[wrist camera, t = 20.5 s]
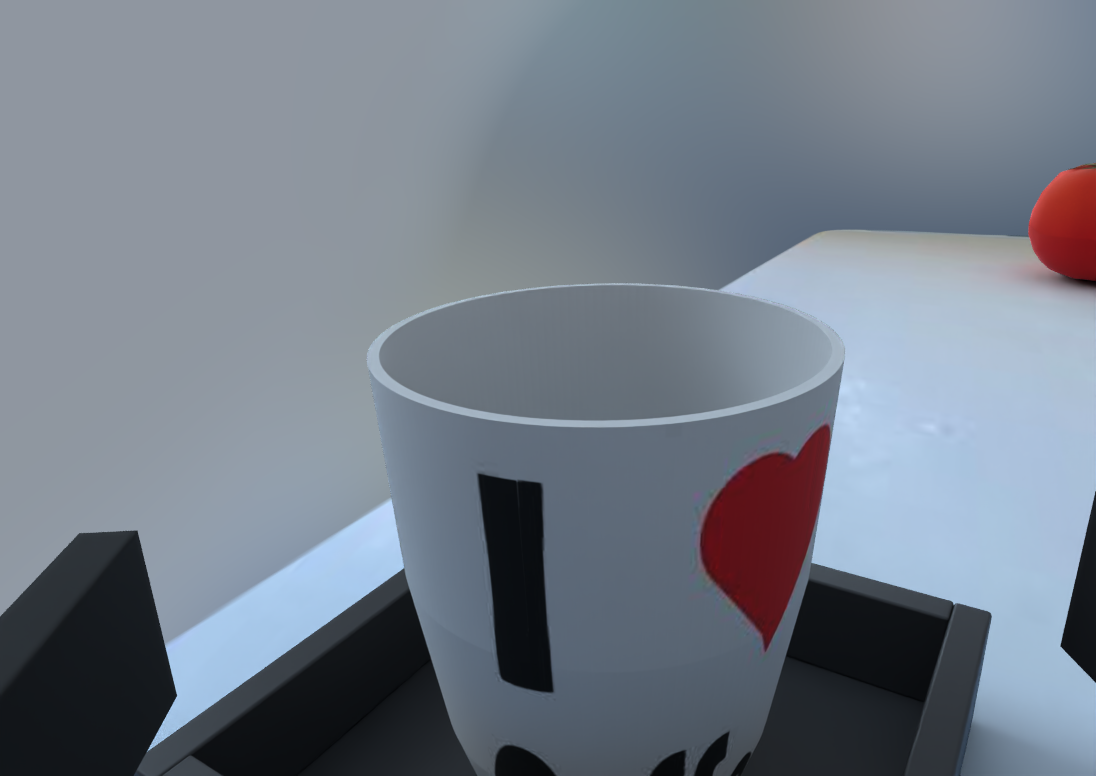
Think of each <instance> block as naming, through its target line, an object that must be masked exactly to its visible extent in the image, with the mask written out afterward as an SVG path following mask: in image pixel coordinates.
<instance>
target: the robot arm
mask: <svg viewBox="0 0 1096 776" xmlns="http://www.w3.org/2000/svg"><path fill="white" fill-rule="evenodd" d="M1061 647H1062V648H1063V649H1064V650H1065V652H1066V653H1067V654H1068V655H1069V656H1070V657H1071V658H1072V659H1073V660H1074V661H1075V662H1076V663H1077V664H1078V665H1079V666H1080V667H1081V668H1082V669H1083V670H1084V671H1085V672H1086V673H1087V674H1088V675H1089V676H1090V677H1091V678H1092V679H1093V680H1094V681H1095V682H1096V492H1095V496H1094V501H1093V505H1092V510H1091V514H1090V518H1089V523H1088V527H1087V532H1086V536H1085V540H1084V545H1083V549H1082V553H1081V558H1080V562H1079V567H1078V571H1077V575H1076V580H1075V584H1074V589H1073V593H1072V597H1071V602H1070V606H1069V611H1068V615H1067V619H1066V624H1065V628H1064V633H1063V637H1062V641H1061ZM176 697H177V694H176V690H175V685H174V681H173V677H172V673H171V669H170V665H169V660H168V656H167V652H166V648H165V644H164V640H163V636H162V631H161V627H160V623H159V619H158V615H157V610H156V606H155V602H154V598H153V594H152V590H151V586H150V582H149V577H148V573H147V569H146V565H145V561H144V556H143V553H142V548H141V544H140V540H139V536H138V531H120V532H99V533H79V534H78V535H77V536H76V538H74V540H73V541H72V542H71V543H70V544H69V545H68V546H67V547H66V548H65V549H64V550H63V551H62V552H61V553H60V554H59V555H58V557H56V559H55V560H54V561H53V562H52V563H51V564H50V565H49V566H48V567H47V568H46V569H45V570H44V571H43V572H42V573H41V575H39V576H38V578H37V579H36V580H35V581H34V582H33V583H32V584H31V585H30V586H29V587H28V588H27V589H26V590H25V591H24V592H23V593H22V594H21V595H20V597H19V598H18V599H17V600H16V601H15V602H14V603H13V604H12V605H11V606H10V607H9V608H8V609H7V610H6V611H5V612H4V613H3V614H2V615H1V616H0V776H134V774H135V773H136V771H137V769H138V767H139V765H140V763H141V762H142V760H143V758H144V756H145V754H146V752H147V750H148V749H149V747H150V745H151V743H152V741H153V739H154V737H155V736H156V734H157V732H158V730H159V728H160V726H161V725H162V723H163V721H164V719H165V717H166V715H167V713H168V712H169V710H170V708H171V706H172V704H173V702H174V700H175V699H176Z"/></svg>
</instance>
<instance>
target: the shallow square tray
mask: <svg viewBox="0 0 1096 776" xmlns="http://www.w3.org/2000/svg"><path fill="white" fill-rule="evenodd" d="M991 617H992V616H991V613H990V612H988V611H984V610H980V609H977V608H973V607H969V606H966V605H962V604H955V605H953V602H951V601H949V600H945V599H941V598H938V597H934V596H930V595H927V594H923V593H919V592H916V591H912V590H908V589H905V588H901V587H898V586H894V585H890V584H887V583H883V582H879V581H876V580H872V579H868V578H865V577H861V576H857V575H854V574H850V573H847V572H843V571H839V570H836V569H832V568H828V567H825V566H821V565H817V564H814V563H811V567H810V573H809V579H808V582H807V586H806V589H805V592H804V596H803V599H802V603H801V606H800V609H799V613H798V616H797V619H796V623H795V626H794V629H793V633H792V636H791V640H790V643H789V646H788V650H787V653H786V656H785V660H784V663H783V667H782V670H781V673H780V677H779V680H778V683H777V687H776V690H775V694H774V697H773V700H772V704H771V707H770V710H769V714H768V717H767V721H766V724H765V727H764V730H763V733H762V735H761V738H760V740H759V742H758V744H757V746H756V748H755V749H754V751H753V753H752V755H751V757H750V759H749V761H748V763H747V765H746V767H745V769H744V771H743V773H742V774H741V776H960V772H961V768H962V763H963V759H964V754H965V750H966V745H967V741H968V736H969V732H970V727H971V723H972V718H973V713H974V707H975V701H976V697H977V692H978V686H979V681H980V676H981V670H982V665H983V660H984V655H985V649H986V644H987V639H988V633H989V628H990V623H991ZM134 776H477V774H476V772H475V770H474V768H473V766H472V764H471V762H470V760H469V759H468V757H467V755H466V753H465V751H464V749H463V747H462V745H461V743H460V741H459V739H458V738H457V736H456V734H455V731H454V729H453V726H452V724H451V721H450V717H449V714H448V711H447V708H446V705H445V701H444V698H443V695H442V692H441V688H440V685H439V682H438V679H437V676H436V672H435V669H434V666H433V663H432V659H431V656H430V653H429V650H428V647H427V643H426V640H425V637H424V634H423V630H422V627H421V624H420V621H419V618H418V614H417V611H416V608H415V605H414V601H413V598H412V595H411V592H410V589H409V585H408V582H407V579H406V575H405V569H402V570H401V571H400V572H398V573H397V574H395V575H394V576H393V577H391V578H390V579H388V580H387V581H386V582H384V583H383V584H381V585H380V586H379V587H377V588H376V589H374V590H373V591H372V592H370V593H369V594H367V595H366V596H365V597H363V598H362V599H361V600H359V601H358V602H356V603H355V604H354V605H352V606H351V607H349V608H348V609H347V610H345V611H344V612H342V613H341V614H340V615H338V616H337V617H335V618H334V619H333V620H331V621H330V622H328V623H327V624H326V625H324V626H323V627H321V628H320V629H319V630H317V631H316V632H314V633H313V634H312V635H310V636H309V637H307V638H306V639H305V640H303V641H302V642H300V643H299V644H298V645H296V646H295V647H293V648H292V649H291V650H289V651H288V652H286V653H285V654H284V655H282V656H281V657H279V658H278V659H277V660H275V661H274V662H272V663H271V664H270V665H268V666H267V667H265V668H264V669H263V670H261V671H260V672H258V673H257V674H256V675H254V676H253V677H251V678H250V679H249V680H247V681H246V682H244V683H243V684H242V685H240V686H239V687H237V688H236V689H235V690H233V691H232V692H230V693H229V694H228V695H226V696H225V697H223V698H222V699H221V700H219V701H218V702H216V703H215V704H214V705H212V706H211V707H209V708H208V709H207V710H205V711H204V712H202V713H201V714H200V715H198V716H197V717H195V718H194V719H193V720H191V721H190V722H188V723H187V724H186V725H184V726H183V727H181V728H180V729H179V730H177V731H176V732H174V733H173V734H172V735H170V736H169V737H167V738H166V739H165V740H163V741H162V742H160V743H159V744H158V745H156V746H155V747H153V748H152V749H151V750H149V751H148V752H146V754H145V756H144V758H143V760H142V762H141V763H140V765H139V767H138V769H137V771H136V773H135V774H134Z"/></svg>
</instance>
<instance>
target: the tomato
mask: <svg viewBox="0 0 1096 776" xmlns="http://www.w3.org/2000/svg"><path fill="white" fill-rule="evenodd" d="M1028 234H1029V237H1030V241H1031V244H1032V247H1033V250H1034V252H1035V253H1036V255H1037V256H1038V258H1039V260H1040V261H1041V262H1042V263H1043V264H1044V265H1046V266H1047V267H1048V268H1049V269H1051V270H1053V271H1055V272H1058V273H1060V274H1063V275H1066V276H1068V277H1071V278H1075V279H1084V280H1093V281H1096V163H1093V164H1085V165H1081V166H1078V167H1076V168H1073V169H1070V170H1067V171H1064V172H1061V173H1059V174H1058V176H1057V177H1056V178H1055V179H1054V180H1053V181H1052V182H1051V183H1050V184H1049V185H1048V186H1047V187H1046V189H1045V190H1044V191H1043V192H1042V193H1041V195H1040V197H1039V199H1038V201H1037V203H1036V205H1035V207H1034V209H1033V210H1032V215H1031V218H1030V222H1029V233H1028Z"/></svg>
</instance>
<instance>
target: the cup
mask: <svg viewBox="0 0 1096 776" xmlns="http://www.w3.org/2000/svg"><path fill="white" fill-rule="evenodd" d="M844 358H845V347H844V344H843V342H842V340H841V338H840V337H839V336H838V334H837V333H836V332H835V331H834V330H833V329H831V328H830V327H829V326H828V325H826V324H825V323H823V322H822V321H820V320H818V319H816V318H815V317H813V316H811V315H808V314H806V313H804V312H802V311H799V310H797V309H794V308H791V307H788V306H785V305H782V304H779V303H776V302H772V301H768V300H764V299H760V298H756V297H752V296H747V295H742V294H737V293H731V292H725V291H718V290H711V289H703V288H694V287H684V286H671V285H656V284H577V285H561V286H549V287H538V288H530V289H521V290H514V291H506V292H500V293H494V294H488V295H483V296H478V297H473V298H469V299H464V300H460V301H456V302H452V303H448V304H445V305H442V306H438V307H435V308H432V309H429V310H426V311H423V312H421V313H418V314H416V315H413V316H411V317H409V318H407V319H404V320H403V321H400V322H399V323H397V324H395V325H393V326H392V327H390V328H389V329H387V330H386V331H384V332H383V333H382V334H381V335H379V336H378V337H377V338H376V339H375V340H374V342H373V343H372V345H371V346H370V348H369V350H368V354H367V364H368V370H369V375H370V381H371V386H372V392H373V397H374V403H375V409H376V414H377V419H378V425H379V431H380V436H381V442H382V447H383V453H384V458H385V464H386V469H387V475H388V480H389V486H390V492H391V497H392V503H393V508H394V514H395V519H396V525H397V530H398V536H399V541H400V547H401V552H402V558H403V563H404V569H405V575H406V579H407V582H408V585H409V589H410V592H411V595H412V598H413V601H414V605H415V608H416V611H417V614H418V618H419V621H420V624H421V627H422V630H423V634H424V637H425V640H426V643H427V647H428V650H429V653H430V656H431V659H432V663H433V666H434V669H435V672H436V676H437V679H438V682H439V685H440V688H441V692H442V695H443V698H444V701H445V705H446V708H447V711H448V714H449V717H450V721H451V724H452V726H453V729H454V731H455V734H456V736H457V738H458V739H459V741H460V743H461V745H462V747H463V749H464V751H465V753H466V755H467V757H468V759H469V760H470V762H471V764H472V766H473V768H474V770H475V772H476V774H477V776H741V774H742V773H743V771H744V769H745V767H746V765H747V763H748V761H749V759H750V757H751V755H752V753H753V751H754V749H755V748H756V746H757V744H758V742H759V740H760V738H761V735H762V733H763V730H764V727H765V724H766V721H767V717H768V714H769V710H770V707H771V704H772V700H773V697H774V694H775V690H776V687H777V683H778V680H779V677H780V673H781V670H782V667H783V663H784V660H785V656H786V653H787V650H788V646H789V643H790V640H791V636H792V633H793V629H794V626H795V623H796V619H797V616H798V613H799V609H800V606H801V603H802V599H803V596H804V592H805V589H806V586H807V582H808V579H809V573H810V567H811V561H812V555H813V549H814V543H815V536H816V530H817V524H818V518H819V512H820V506H821V499H822V493H823V487H824V481H825V475H826V469H827V463H828V456H829V450H830V444H831V438H832V432H833V426H834V419H835V413H836V407H837V401H838V395H839V389H840V382H841V376H842V370H843V364H844Z"/></svg>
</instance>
